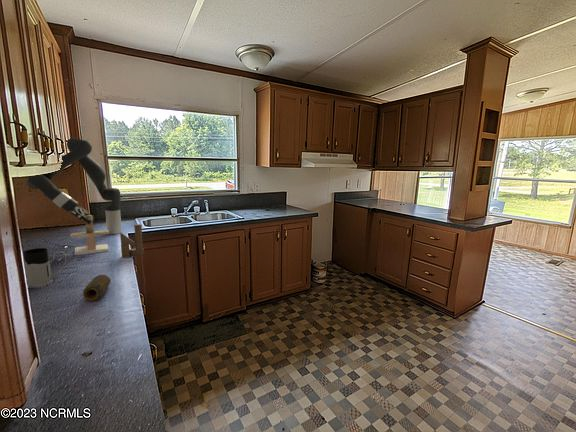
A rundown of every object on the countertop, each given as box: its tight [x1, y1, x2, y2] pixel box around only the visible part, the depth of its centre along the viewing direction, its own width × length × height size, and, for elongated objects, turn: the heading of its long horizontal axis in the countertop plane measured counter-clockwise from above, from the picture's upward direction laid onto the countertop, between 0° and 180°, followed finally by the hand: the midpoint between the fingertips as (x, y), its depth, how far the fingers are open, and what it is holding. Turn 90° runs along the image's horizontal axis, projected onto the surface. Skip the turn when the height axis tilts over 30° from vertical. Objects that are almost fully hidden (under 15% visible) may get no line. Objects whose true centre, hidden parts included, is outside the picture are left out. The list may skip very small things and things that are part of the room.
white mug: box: [22, 247, 67, 289], centre depth 118 cm, size 9×14×15 cm, turn 118°
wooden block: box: [119, 223, 145, 259], centre depth 156 cm, size 4×11×18 cm, turn 129°
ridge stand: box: [74, 236, 109, 256], centre depth 163 cm, size 11×16×10 cm
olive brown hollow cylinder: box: [82, 274, 112, 302], centre depth 111 cm, size 15×7×7 cm, turn 23°
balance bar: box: [70, 214, 110, 239], centre depth 161 cm, size 5×18×12 cm, turn 126°
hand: (92, 221), depth 161 cm, fingers open, 8 cm apart
